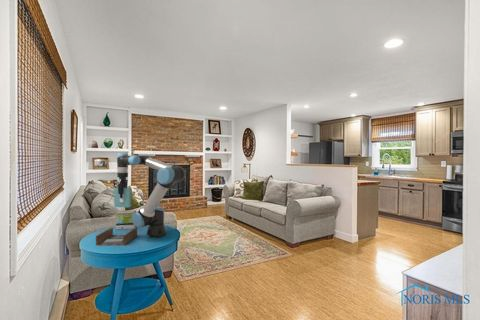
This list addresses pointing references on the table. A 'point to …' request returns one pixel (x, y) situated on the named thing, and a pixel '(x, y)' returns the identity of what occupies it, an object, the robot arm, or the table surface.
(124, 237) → the rack
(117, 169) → the robot arm
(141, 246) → the table surface
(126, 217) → the tea box
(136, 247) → the table surface
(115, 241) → the offcut upper
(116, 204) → the teal rectangular slab
